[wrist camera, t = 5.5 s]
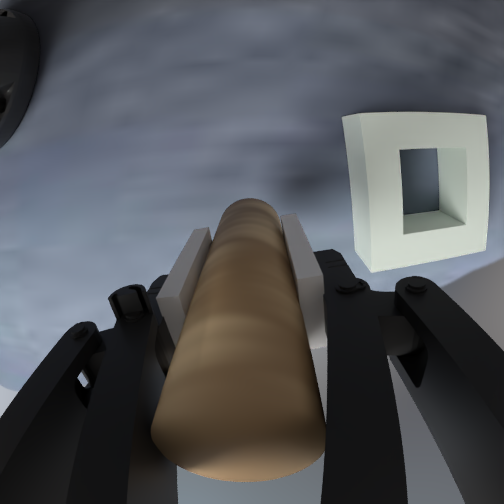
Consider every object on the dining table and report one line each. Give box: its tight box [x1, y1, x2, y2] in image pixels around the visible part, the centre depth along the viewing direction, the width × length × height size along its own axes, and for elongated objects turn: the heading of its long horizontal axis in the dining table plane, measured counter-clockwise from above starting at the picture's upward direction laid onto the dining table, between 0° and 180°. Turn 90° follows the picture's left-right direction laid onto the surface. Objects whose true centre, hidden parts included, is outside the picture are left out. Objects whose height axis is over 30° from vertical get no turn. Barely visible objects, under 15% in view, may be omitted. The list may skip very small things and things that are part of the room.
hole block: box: [342, 112, 489, 273], centre depth 19 cm, size 10×10×4 cm
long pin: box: [151, 198, 326, 482], centre depth 12 cm, size 4×4×14 cm
